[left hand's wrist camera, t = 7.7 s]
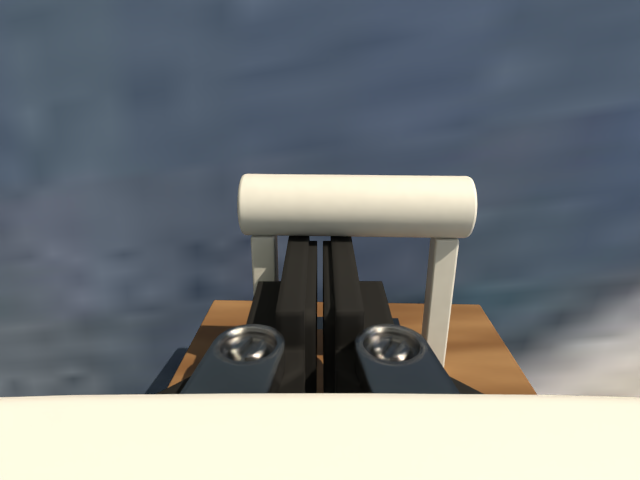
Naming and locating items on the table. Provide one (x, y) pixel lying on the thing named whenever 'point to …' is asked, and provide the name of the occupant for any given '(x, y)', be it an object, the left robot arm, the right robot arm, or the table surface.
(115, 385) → the table surface
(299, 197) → the drawer
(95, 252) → the table surface
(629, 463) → the left robot arm
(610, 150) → the table surface
